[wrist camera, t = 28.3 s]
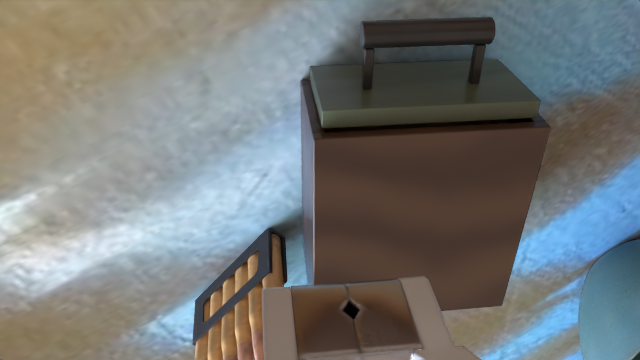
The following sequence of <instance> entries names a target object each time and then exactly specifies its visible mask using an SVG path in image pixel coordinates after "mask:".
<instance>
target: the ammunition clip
mask: <svg viewBox="0 0 640 360" xmlns="http://www.w3.org/2000/svg"><path fill="white" fill-rule="evenodd" d="M286 282H287V263H286V245H285V237H283V236H281V235H280V234H278V233H276V232H275V231H273V230H271V229H266V230H265V231H264V232H263V233H262V234H261V235H260V236H259V237H258V238H257V239H256V240H255V241H254V242H253V243H252V244H251V245H250V246H249V247H248V248H247V249H246V250H245V251H244V252H243V253H242V254H241V255H240V256H239V257H238V258H237V259H236V260H235V261H234V262H233V263H232V264H231V265H230V266H229V267H228V268H227V269H226V270H225V271H224V272H223V273H222V274H221V275H220V276H219V277H218V278H217V279H216V280H215V281H214V282H213V283H212V284H211V285H210V286H209V287H208V288H207V289H206V290H205V291H204V292H203V293H202V294H201V295H200V296H199V297H198V298H197V299H196V300H195V314H194V329H193V345H196V352H195V360H253V358H254V356H255V359H256V360H264V349H263V322H262V288H276V287H284V284H285V283H286Z"/></svg>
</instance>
